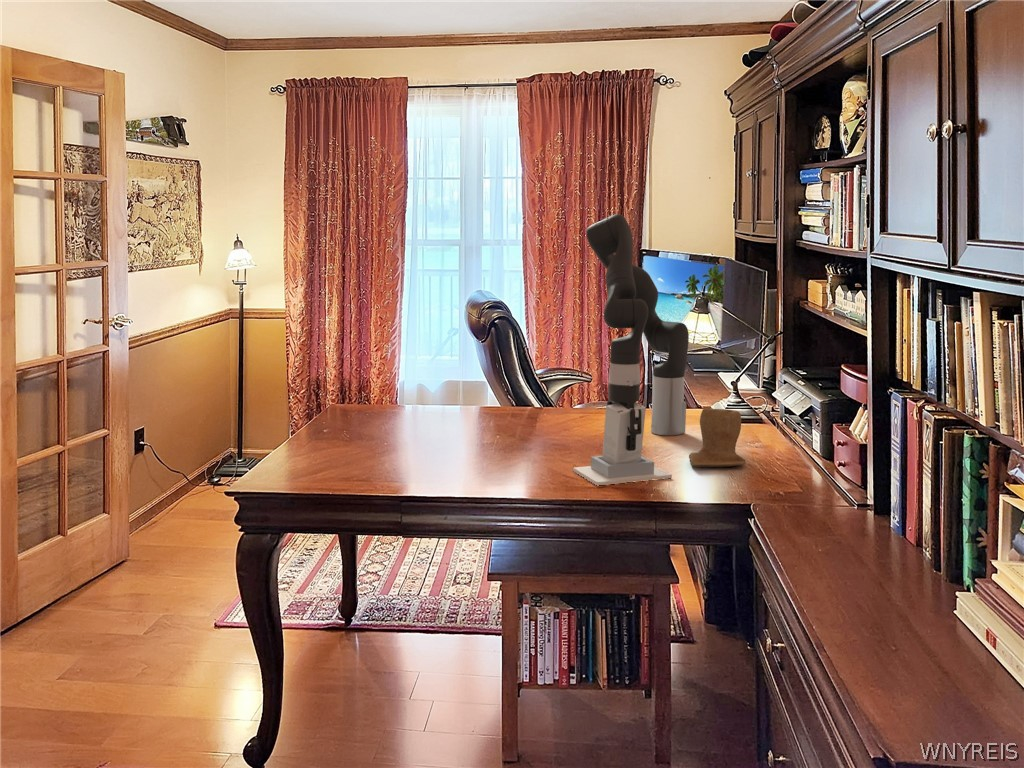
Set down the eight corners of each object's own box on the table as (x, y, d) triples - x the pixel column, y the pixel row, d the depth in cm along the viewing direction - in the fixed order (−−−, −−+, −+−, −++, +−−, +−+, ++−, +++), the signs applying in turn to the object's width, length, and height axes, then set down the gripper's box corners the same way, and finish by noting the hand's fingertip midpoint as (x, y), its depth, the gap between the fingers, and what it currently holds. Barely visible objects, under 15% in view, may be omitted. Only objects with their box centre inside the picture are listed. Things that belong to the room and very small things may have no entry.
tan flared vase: (734, 458, 237) (736, 403, 235) (751, 470, 226) (753, 412, 223) (678, 460, 235) (680, 404, 233) (692, 471, 224) (695, 413, 221)
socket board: (644, 464, 230) (644, 449, 230) (671, 478, 217) (672, 462, 217) (573, 471, 224) (573, 455, 223) (597, 486, 211) (597, 469, 210)
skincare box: (626, 453, 225) (631, 398, 220) (642, 462, 220) (647, 406, 215) (600, 460, 220) (604, 404, 215) (615, 469, 216) (620, 412, 211)
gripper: (597, 377, 222) (596, 441, 224) (623, 386, 208) (622, 454, 211) (624, 376, 224) (623, 439, 227) (652, 385, 211) (650, 451, 214)
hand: (622, 446), depth 219 cm, fingers open, 8 cm apart
